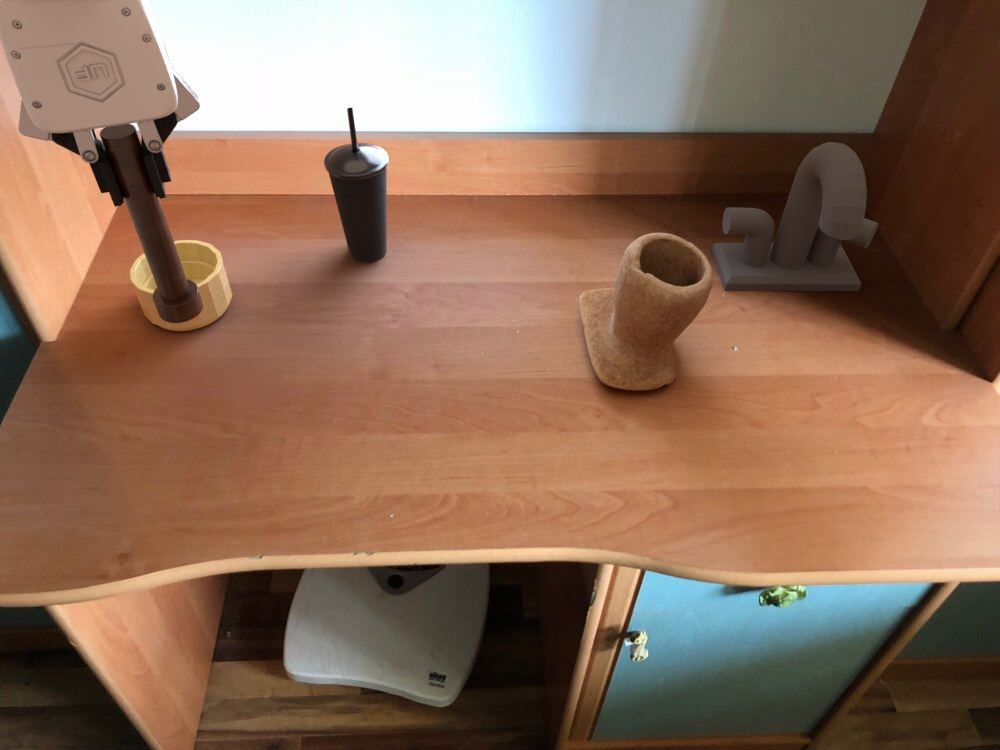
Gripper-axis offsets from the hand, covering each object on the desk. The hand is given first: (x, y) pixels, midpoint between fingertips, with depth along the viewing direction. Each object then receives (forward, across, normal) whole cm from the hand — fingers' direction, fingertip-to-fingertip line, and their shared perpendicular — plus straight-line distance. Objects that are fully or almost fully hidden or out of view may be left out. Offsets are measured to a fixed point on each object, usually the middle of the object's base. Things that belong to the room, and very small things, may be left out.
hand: (139, 191), depth 65 cm
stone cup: (+28, +46, -6) cm, 54 cm away
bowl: (+27, -1, +19) cm, 33 cm away
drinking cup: (+27, +22, +22) cm, 42 cm away
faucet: (+28, +70, -3) cm, 76 cm away
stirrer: (+13, 0, 0) cm, 13 cm away
